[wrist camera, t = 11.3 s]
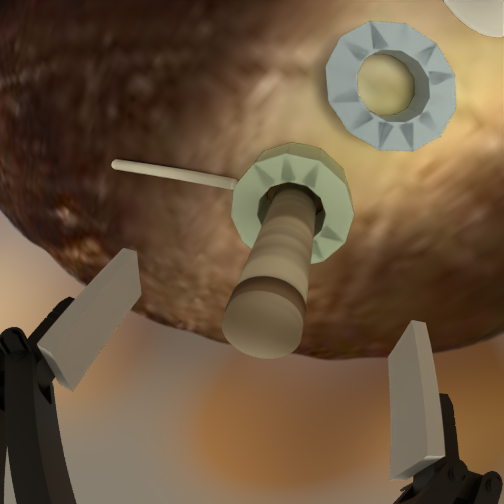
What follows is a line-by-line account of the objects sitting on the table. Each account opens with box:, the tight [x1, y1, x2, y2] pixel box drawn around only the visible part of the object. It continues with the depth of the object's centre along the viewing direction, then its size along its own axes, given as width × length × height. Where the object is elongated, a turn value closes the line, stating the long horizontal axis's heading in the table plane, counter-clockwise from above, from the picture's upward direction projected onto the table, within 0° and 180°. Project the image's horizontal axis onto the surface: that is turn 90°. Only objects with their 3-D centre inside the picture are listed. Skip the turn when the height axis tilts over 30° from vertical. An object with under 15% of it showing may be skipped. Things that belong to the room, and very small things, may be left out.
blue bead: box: [325, 21, 456, 151], centre depth 18 cm, size 9×9×4 cm
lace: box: [112, 159, 238, 190], centre depth 28 cm, size 1×13×1 cm, turn 81°
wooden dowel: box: [222, 182, 317, 359], centre depth 20 cm, size 4×4×16 cm
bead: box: [231, 142, 354, 264], centre depth 25 cm, size 9×9×4 cm
